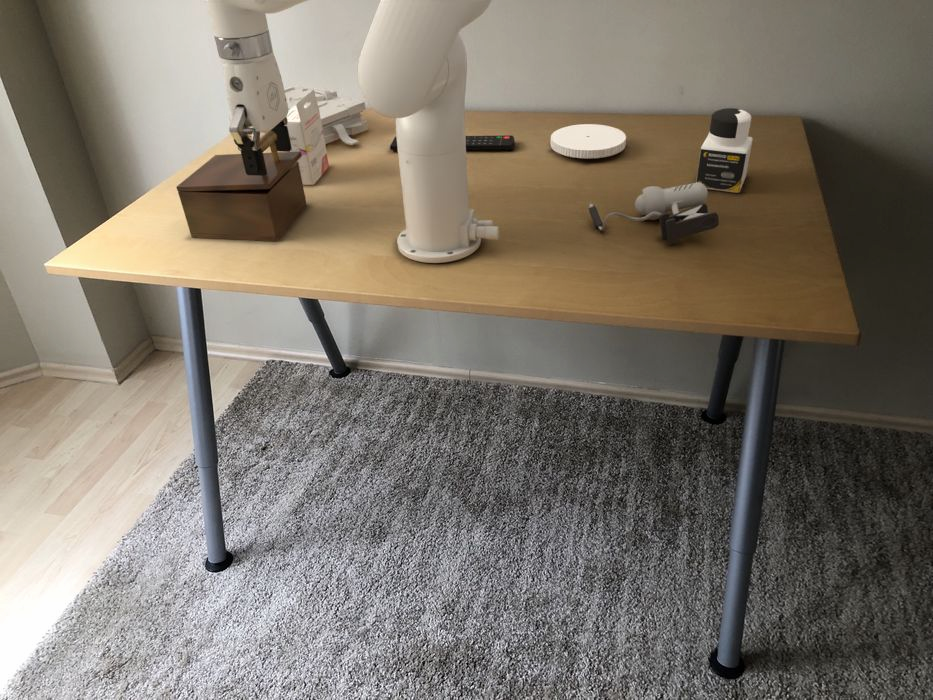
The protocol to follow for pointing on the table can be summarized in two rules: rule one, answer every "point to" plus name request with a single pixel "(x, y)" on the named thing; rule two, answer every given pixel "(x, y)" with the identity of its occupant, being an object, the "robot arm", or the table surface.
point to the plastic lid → (588, 141)
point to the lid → (241, 170)
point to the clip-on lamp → (671, 199)
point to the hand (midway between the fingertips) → (269, 162)
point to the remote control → (480, 142)
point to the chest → (246, 210)
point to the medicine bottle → (726, 151)
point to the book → (331, 113)
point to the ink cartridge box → (308, 138)
